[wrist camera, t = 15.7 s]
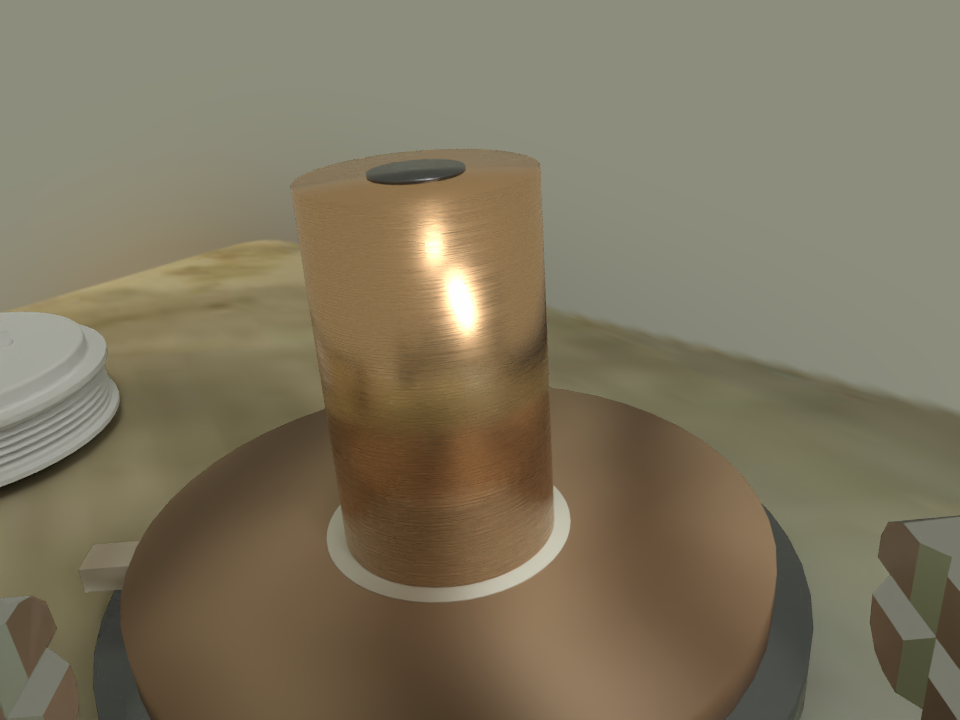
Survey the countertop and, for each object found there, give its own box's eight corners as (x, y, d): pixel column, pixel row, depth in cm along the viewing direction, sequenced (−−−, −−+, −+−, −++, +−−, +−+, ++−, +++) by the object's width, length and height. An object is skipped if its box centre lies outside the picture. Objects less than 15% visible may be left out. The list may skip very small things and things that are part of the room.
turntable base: (695, 421, 36) (696, 388, 35) (965, 897, 17) (978, 847, 17) (206, 459, 35) (198, 427, 35) (-40, 984, 17) (-65, 936, 16)
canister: (543, 459, 28) (528, 138, 24) (567, 577, 22) (553, 186, 18) (355, 474, 28) (309, 155, 24) (333, 596, 22) (267, 208, 18)
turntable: (678, 399, 34) (679, 365, 33) (902, 801, 18) (912, 749, 17) (179, 438, 34) (171, 405, 33) (-65, 883, 17) (-90, 834, 17)
